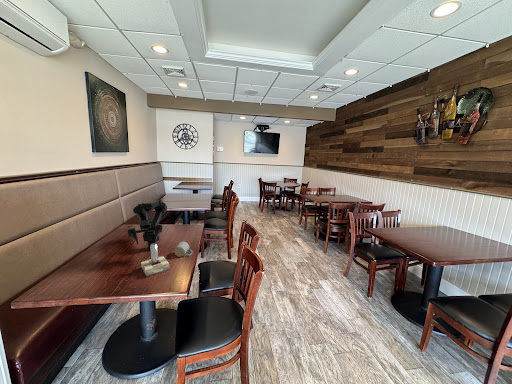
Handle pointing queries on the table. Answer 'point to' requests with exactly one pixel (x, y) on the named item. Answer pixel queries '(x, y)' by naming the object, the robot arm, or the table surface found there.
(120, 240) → the table surface
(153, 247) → the steel pin
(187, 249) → the ceramic mug
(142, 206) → the robot arm
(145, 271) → the socket block
